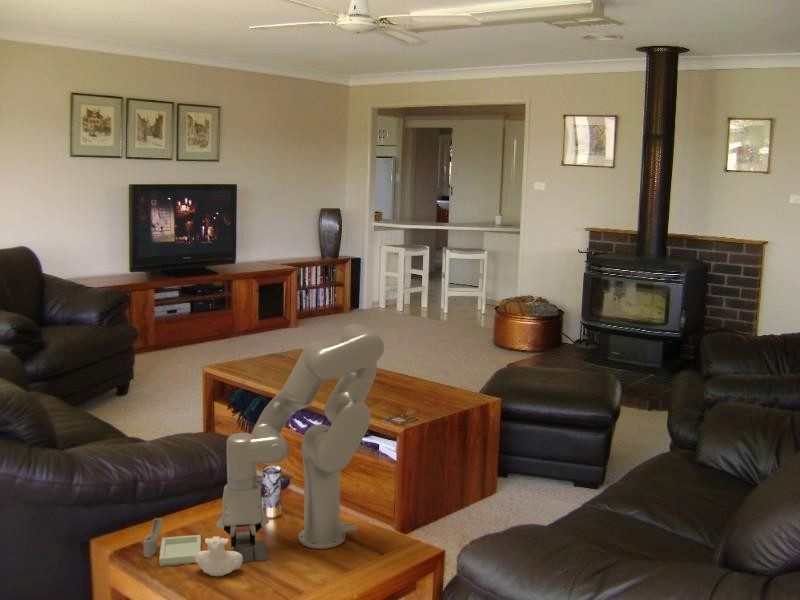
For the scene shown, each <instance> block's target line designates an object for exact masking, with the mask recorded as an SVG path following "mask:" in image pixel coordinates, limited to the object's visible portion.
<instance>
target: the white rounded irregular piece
mask: <svg viewBox="0 0 800 600" xmlns="http://www.w3.org/2000/svg"><path fill="white" fill-rule="evenodd" d="M229 541H230V540H229V538H224V537H220V536H215V535H214V536H213V537H211V538H207V537H206V538H205V539H204V543H205V544H206V545H207V550H201V551H200V552H198V553H196V554H195V556H194V558H195V560H196V564H198V567H199V568H200V569H201V570H202V571H203V572H204V573H205V574H207V575H209V576H211V577H223V576H225V575H228V574H230V573H232V572H233V571H236V570H238V569H240V568H241V566H242V564H243V562H242V561H243V557H242V555H241V554H240V553H238V552H236V551H234V550H226V549H225V546H226V545H227V544H228V543H229Z"/></svg>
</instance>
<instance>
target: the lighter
mask: <svg viewBox="0 0 800 600" xmlns="http://www.w3.org/2000/svg"><path fill="white" fill-rule="evenodd" d="M162 524H163V519H162V518H156V517H155V518H153V523H152V526H151V527H152V528H151V532H149V533H148V534H147V535H146V538H145V539H143V542H142V543H143V544H142V545H143V548H142V549H143V557H144V558H151V557H152V556H153V555H154V554H155V553H157V552H158V536H160V535H161V531H162Z"/></svg>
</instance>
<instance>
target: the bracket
mask: <svg viewBox="0 0 800 600" xmlns="http://www.w3.org/2000/svg"><path fill="white" fill-rule="evenodd" d="M250 530H251V528H250ZM235 531H236V528H235ZM266 547H267V546H266V542H265V539H258V540H255V545H253V543H251V544H239V545H235V551H236V552H238V553H240V554H241V555H242V557H243V561H242V563H252V562H253V563H254V561H255V562H261V561H268V556H267V549H266Z"/></svg>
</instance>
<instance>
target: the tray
mask: <svg viewBox="0 0 800 600" xmlns="http://www.w3.org/2000/svg"><path fill="white" fill-rule="evenodd" d="M201 537H202V535H201V534H194V535H181V536H180V535H179V536H169V537H161V543H160V549H159V550H160V551H159V558H158V559H159V560H158V561H159V567H169V566H171V565H172V566H180V565H179V564H184V565H191V564H190V563H196V560H195V558H194V556H195V554H196V553H198V552H200V551H202V550H201V549H202V538H201ZM196 564H197V563H196ZM172 566H171V567H172Z"/></svg>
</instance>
